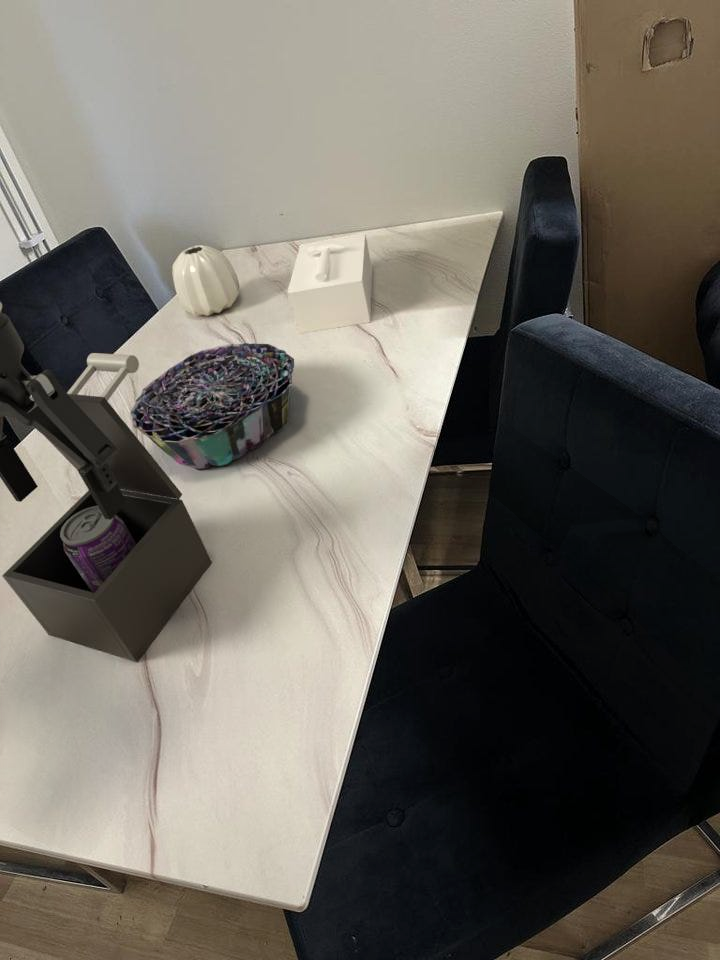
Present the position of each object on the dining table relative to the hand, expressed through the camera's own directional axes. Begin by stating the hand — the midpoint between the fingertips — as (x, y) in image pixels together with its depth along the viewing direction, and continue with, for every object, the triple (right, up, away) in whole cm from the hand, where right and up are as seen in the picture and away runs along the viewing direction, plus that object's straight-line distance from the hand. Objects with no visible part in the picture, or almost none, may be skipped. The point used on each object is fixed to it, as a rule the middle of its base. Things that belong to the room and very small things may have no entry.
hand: (70, 502), depth 73 cm
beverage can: (+3, -12, +10) cm, 16 cm away
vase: (-1, +41, +77) cm, 87 cm away
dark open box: (+3, -12, +10) cm, 17 cm away
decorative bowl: (+10, +11, +37) cm, 40 cm away
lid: (+2, +6, +2) cm, 7 cm away
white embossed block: (+27, +40, +67) cm, 83 cm away
